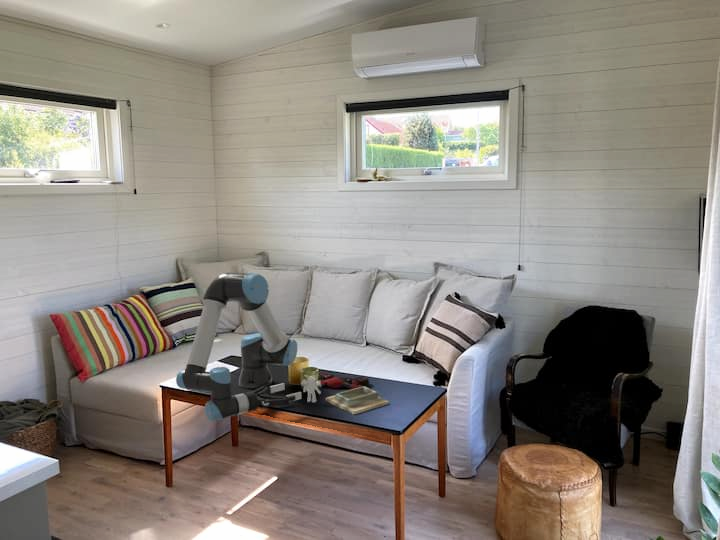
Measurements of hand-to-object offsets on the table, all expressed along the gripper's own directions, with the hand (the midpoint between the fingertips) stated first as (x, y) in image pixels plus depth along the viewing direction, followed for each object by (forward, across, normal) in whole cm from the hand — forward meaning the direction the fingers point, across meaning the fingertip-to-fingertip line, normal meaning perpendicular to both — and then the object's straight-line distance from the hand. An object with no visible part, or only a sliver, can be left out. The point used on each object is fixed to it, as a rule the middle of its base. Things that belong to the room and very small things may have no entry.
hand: (292, 390), depth 243 cm
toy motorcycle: (+29, -8, -7) cm, 31 cm away
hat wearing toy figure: (+9, 0, -7) cm, 12 cm away
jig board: (+24, +13, -7) cm, 28 cm away
